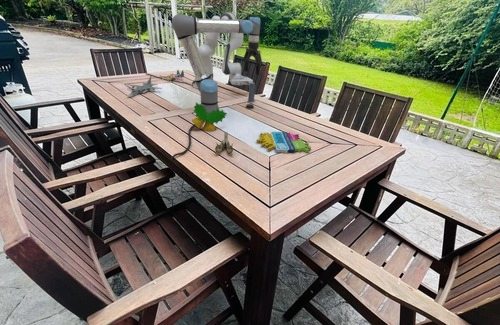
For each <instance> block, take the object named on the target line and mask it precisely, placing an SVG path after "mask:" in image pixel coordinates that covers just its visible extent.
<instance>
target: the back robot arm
mask: <svg viewBox="0 0 500 325" xmlns="http://www.w3.org/2000/svg"><path fill="white" fill-rule="evenodd" d="M211 19H225V20H233V19H237V16H236V15H235V14H234V13H233V12H229V11H228V12H223V13H222V14H221V15H220V16H219V15H213V16H212V17H211ZM220 35H221V33H205V35H204V44H202V45H200V46H198V47H197V48H198V50H199V53H200V56H201V58H202V61H203V63H204V66H205V69H206V71H207V73H209V74H210V76H211V78H212V80H213V81H215V80H214V66H213V63H212V57H213V56H214V55H215V54H216V51H217V50H216V48H217V44H218V40H219V37H220ZM243 45H244V33H230V39H229V42H228V43H227V44H226V46H225V51H224V57H223V62H222V67H221V71H222V73H223V74H224V75H225V76H228V78H229V80H228V82H230V84H231V85H232V86H238V87H240V86H244V85H246V86H247V85H248V86H249V85H250V83H251V82H252V83H254V80H253V79H252V78H250V77H249V76H245V75H242V74H243V72H244V71H243V70H244V69H243V66H242V64H241V63H240V62H230V59H231V54H232V53H233V52H234V51H236V50H238V49H240V48H242V46H243ZM145 75H148V76H151V77H155V78H157V79H160V80H165V79H166V78H163V77H162V78H160V76H157V75H153V74H151V73H147V72H145ZM165 81H166V80H165ZM169 82H175V83H181V84H185V85H189V86H192V87H193V88H194V89H196V90H198V87H197V84H196V82H195V79H194V80H193V81H192V83H191V84H190V83H189V82H186V81H185V82H184V81H180V80H179V81H178V80H174V79H171V80H170V81H169Z"/></svg>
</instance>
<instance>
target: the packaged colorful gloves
mask: <svg viewBox="0 0 500 325" xmlns="http://www.w3.org/2000/svg"><path fill="white" fill-rule="evenodd" d="M299 136H300V135H299V134H298V133H296V134H294V133H291V132H287V131H270V132H264V133H263V132H260V133H259V139H258V138H257V139H256V143H257V144H261V148H263V147H264V148H265V149H267V151H268V152H271V151H272V150H273V149H275V152H276V153H283V154H285V153H287V154H288V153H290V154H293V153H296V152H298V153H301V152H305V153H310V151H311V150H312V149H311V148H312V146H309V142H304V141H303V139H302V138H299Z"/></svg>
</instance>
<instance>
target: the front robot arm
mask: <svg viewBox="0 0 500 325" xmlns="http://www.w3.org/2000/svg"><path fill="white" fill-rule="evenodd" d="M171 27H172V29H173V31H174V34H175V36H176V38H177V40H178V41H179V42H181V44H182V46H183V49H184V51H185V54H186V56H187V59H188V61H189V64H190V67H191V69H192V71H193V74H194V76H195V78H194V80H195V82H196V84H197V87H198V89H197V90H198V91H199V94H200V104H201V106H204V109H206V112H208V113H211V112H212V110H214V111H216V110H217V109H219V111H221V110H220V108H219V102H218V99H219V98H218V97H219V85H218V81H216V80H214V79H213V80H214V81H213V80H212V78H211V76H210V74H209V73H207V71H206V69H205V66H204V63H203V61H202V58H201V56H200V53H199V50H198V48H199V47H198V46H197V43H196V39H195V35H199V34H200V33H202V34H204V33H205V34H206V33H220V34H231V33H243V34H245V35H248V38H247V39H248V43H247V47H246V48H245V53H244V55H243V58H242V61H243V62H244V72H246V73H247V72H249V61H250V59H251V57H253V59H254V61H255V63H256V65H255V76H259V75H260V71H261V66H263V60H262V54H261V49H259V47H260V32H261V18H260V17H256V16H250V17H249V19H240V18H236V19H233V20H225V19H212V18H198V17H197V16H191V15H187V14H184V13H177V14H175V15H174V16H172V19H171ZM258 49H259V50H258ZM208 113H207V115H208ZM194 127H196V125H195V124H194V123H193V125H191V126H190V128H189V129H188V145H187V147H186V148H185V150H183V151H181V152H177V153H174V154H173V155H172V156H171V157H170V160H169V161H171V162H172V161H173V160H174V158H175V157H177V156H180V155H184V154H185V153H187V152H188V151H189V150H190V148H191V146H192V137H191V131H192V129H193V128H194Z"/></svg>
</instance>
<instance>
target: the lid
mask: <svg viewBox="0 0 500 325" xmlns="http://www.w3.org/2000/svg"><path fill="white" fill-rule="evenodd" d="M254 106H255V105H254V104H252V103H247V104H245V108H246V109H248V110H249V109H250V110H251V109H254V108H255V107H254Z"/></svg>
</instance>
